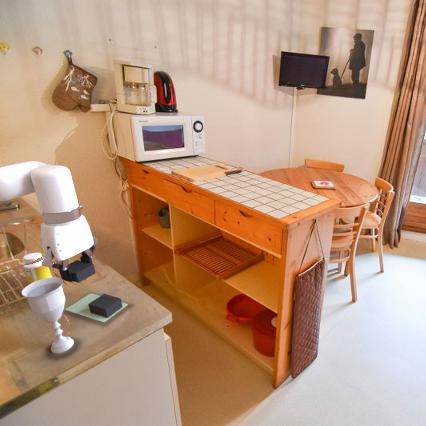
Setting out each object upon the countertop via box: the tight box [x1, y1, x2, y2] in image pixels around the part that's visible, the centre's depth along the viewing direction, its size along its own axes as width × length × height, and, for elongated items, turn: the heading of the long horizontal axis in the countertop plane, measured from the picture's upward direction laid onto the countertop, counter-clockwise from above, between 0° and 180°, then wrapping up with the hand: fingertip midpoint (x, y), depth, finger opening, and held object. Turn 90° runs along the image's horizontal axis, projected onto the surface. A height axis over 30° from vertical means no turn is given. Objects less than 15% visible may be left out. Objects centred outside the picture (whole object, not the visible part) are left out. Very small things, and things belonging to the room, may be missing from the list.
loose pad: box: [68, 259, 96, 284], centre depth 87 cm, size 6×5×3 cm
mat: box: [64, 292, 129, 323], centre depth 90 cm, size 14×8×1 cm, turn 73°
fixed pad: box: [88, 293, 123, 318], centre depth 89 cm, size 6×5×3 cm
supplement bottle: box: [22, 252, 53, 285], centre depth 97 cm, size 6×6×10 cm
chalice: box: [21, 276, 75, 354], centre depth 74 cm, size 7×7×18 cm
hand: (78, 274), depth 87 cm, fingers closed on loose pad, 5 cm apart
